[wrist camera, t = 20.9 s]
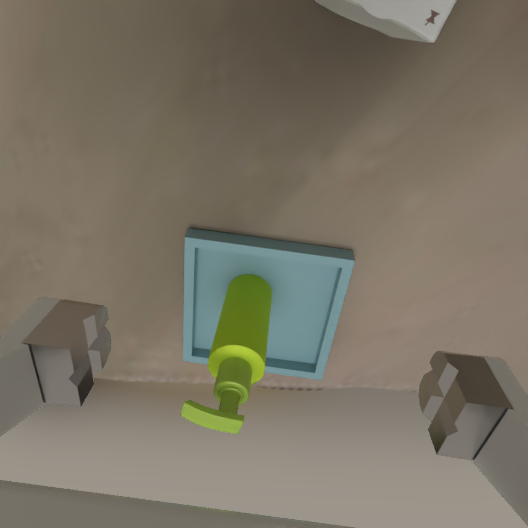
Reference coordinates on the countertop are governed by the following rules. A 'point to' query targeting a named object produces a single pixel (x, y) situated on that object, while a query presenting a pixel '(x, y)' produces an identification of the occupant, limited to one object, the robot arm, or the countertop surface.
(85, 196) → the countertop surface
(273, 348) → the tray
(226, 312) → the soap dispenser
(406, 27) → the skincare box
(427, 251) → the countertop surface
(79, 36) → the countertop surface
